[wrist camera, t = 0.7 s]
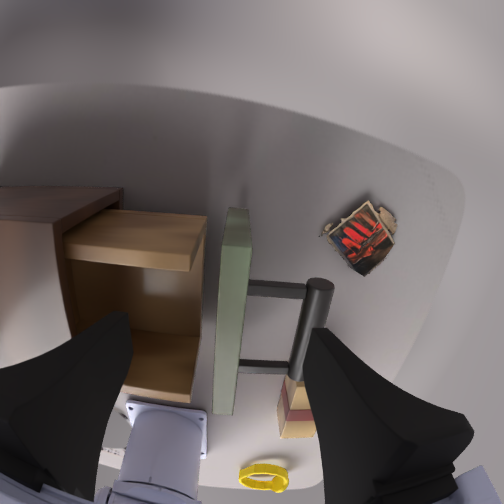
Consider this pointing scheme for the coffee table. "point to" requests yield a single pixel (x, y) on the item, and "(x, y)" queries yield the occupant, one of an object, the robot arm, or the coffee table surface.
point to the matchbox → (363, 238)
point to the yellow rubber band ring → (276, 484)
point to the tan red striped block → (295, 411)
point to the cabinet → (40, 264)
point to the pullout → (179, 298)
